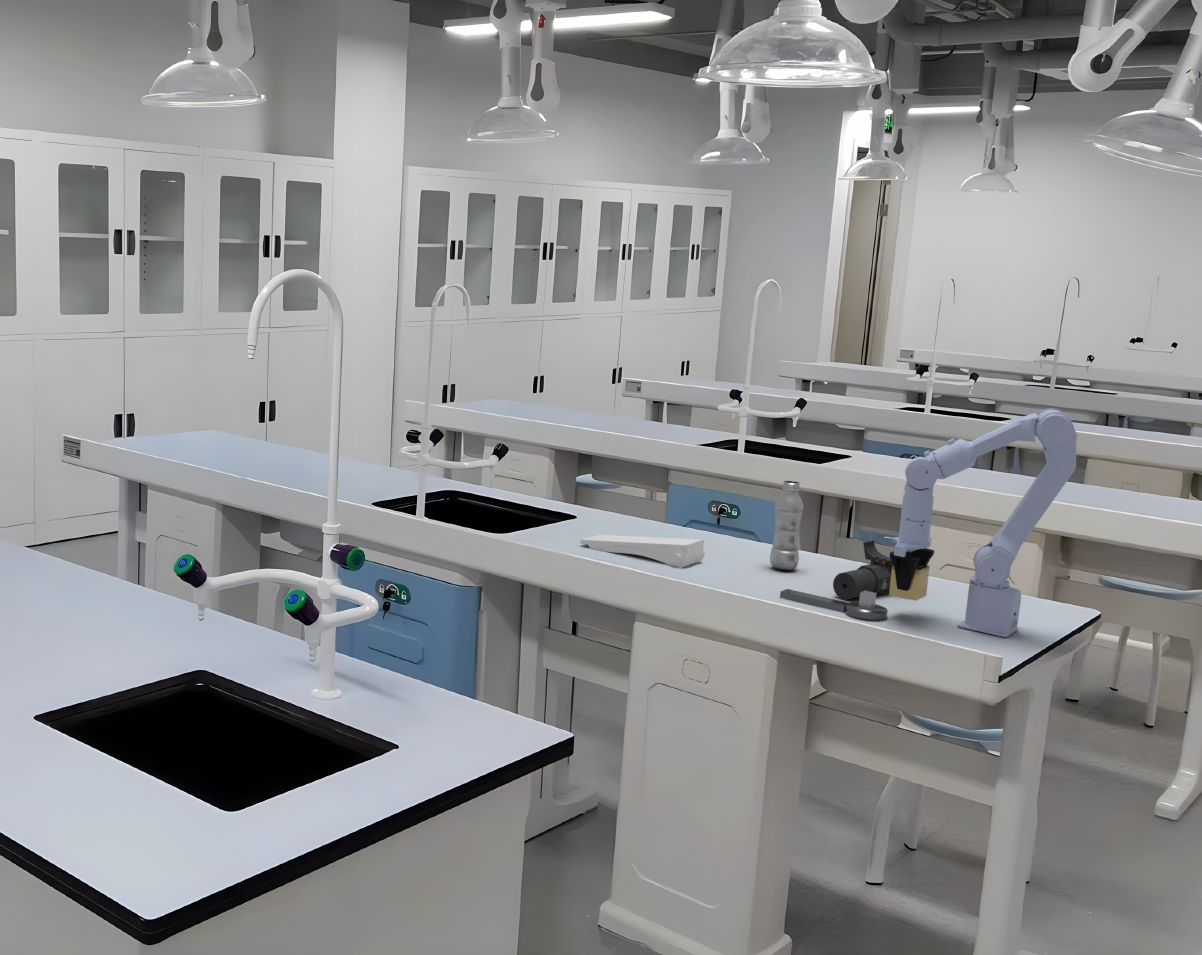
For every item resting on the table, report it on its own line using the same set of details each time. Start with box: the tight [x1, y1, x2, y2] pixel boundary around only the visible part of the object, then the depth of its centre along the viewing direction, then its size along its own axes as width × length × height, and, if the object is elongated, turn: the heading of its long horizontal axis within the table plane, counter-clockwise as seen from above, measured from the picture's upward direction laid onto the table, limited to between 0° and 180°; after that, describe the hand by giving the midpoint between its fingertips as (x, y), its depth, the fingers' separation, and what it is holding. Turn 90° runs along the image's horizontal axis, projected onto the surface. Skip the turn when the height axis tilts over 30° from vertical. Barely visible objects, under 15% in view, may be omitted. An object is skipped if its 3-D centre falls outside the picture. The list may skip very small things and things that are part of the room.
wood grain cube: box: [888, 564, 930, 601], centre depth 228 cm, size 6×6×6 cm
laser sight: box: [832, 540, 893, 601], centre depth 247 cm, size 10×22×10 cm, turn 134°
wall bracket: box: [580, 534, 706, 568], centre depth 268 cm, size 10×7×28 cm
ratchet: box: [779, 588, 888, 622], centre depth 233 cm, size 22×8×5 cm, turn 55°
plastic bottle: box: [769, 480, 805, 571], centre depth 261 cm, size 6×7×20 cm
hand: (908, 587), depth 229 cm, fingers closed on wood grain cube, 5 cm apart
